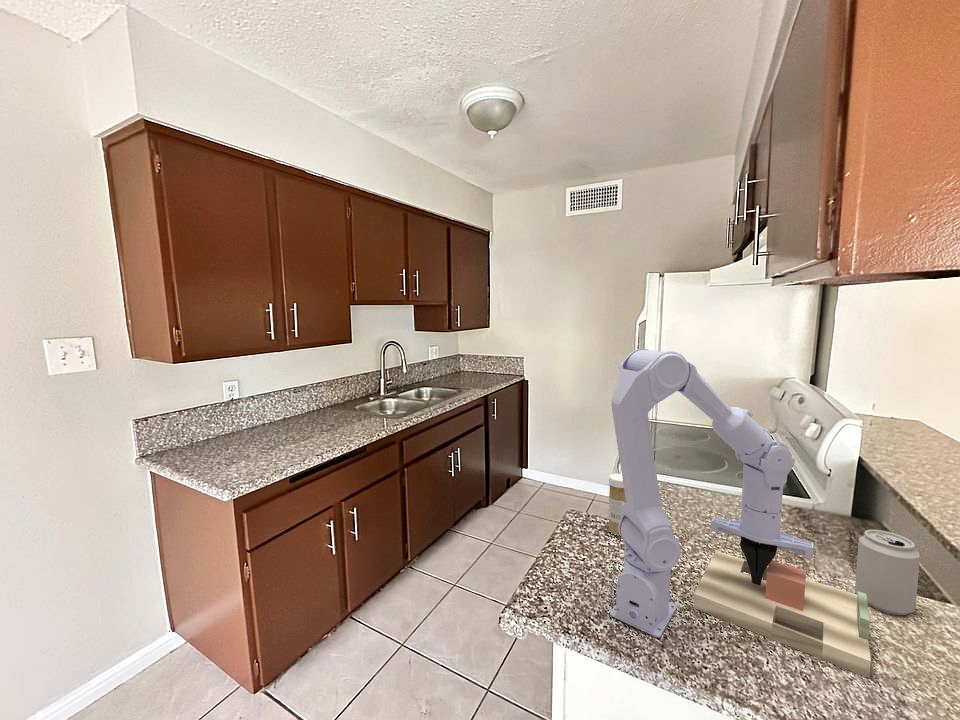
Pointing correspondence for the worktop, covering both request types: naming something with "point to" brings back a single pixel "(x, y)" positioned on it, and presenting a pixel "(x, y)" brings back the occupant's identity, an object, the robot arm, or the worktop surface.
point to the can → (887, 571)
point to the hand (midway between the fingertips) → (756, 581)
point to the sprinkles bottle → (615, 501)
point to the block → (786, 585)
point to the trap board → (789, 613)
